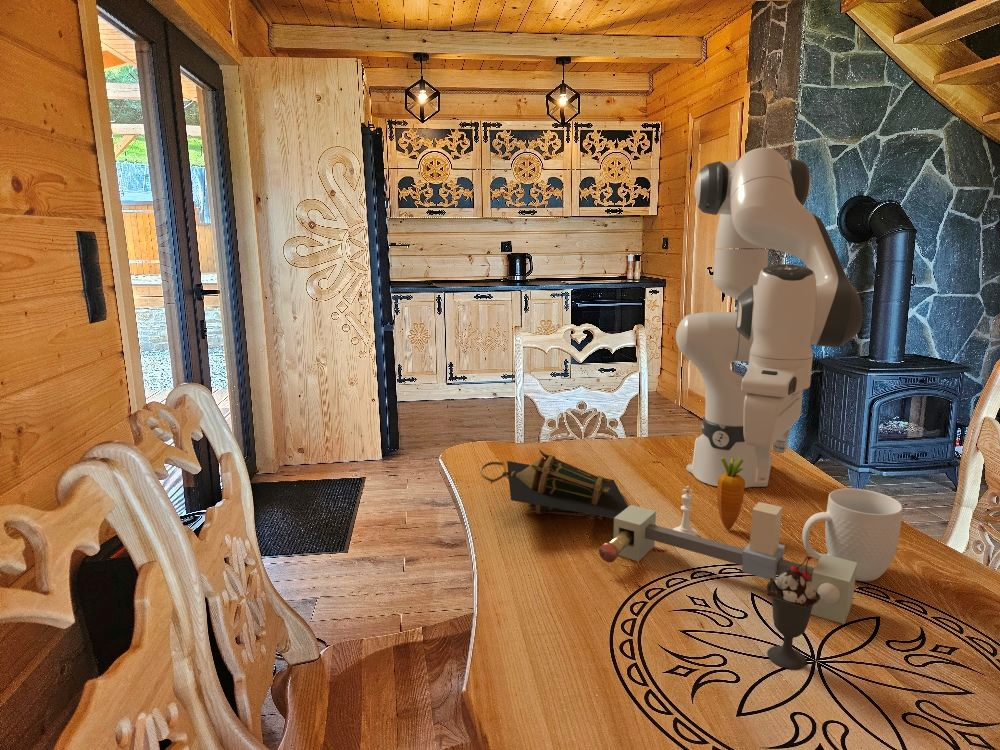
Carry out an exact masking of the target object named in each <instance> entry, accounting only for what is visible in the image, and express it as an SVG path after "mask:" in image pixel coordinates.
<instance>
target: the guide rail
mask: <svg viewBox="0 0 1000 750" xmlns="http://www.w3.org/2000/svg"><path fill="white" fill-rule="evenodd" d="M656 517H657V511H656V510H653V509H649V508H644V507H641V506H638V505H633V504H630V505H629V506H628V507H627V508H626V509H625V510H624V511H622V512H621V513H620V514H618V515H617V516H616V517H615V518H613V537H612V539H614V538H615V537H616V536H617V535H618V534H620V533H621V532H622V531H623V530H624V529H627V530H631V531H634V540H633V541H632V542H631V543H630V544H629V545H627V546H626V547H625V548H624V549H623V550H622V551H621V552H620V553H618V556H619V557H623V558H625V559H629V560H633V561H636V562H640V561H641V560H642V559H643V558H644V557H645V556H646V555H647V554H648V553H649V552H650V551H651V550H652V549H653V548H655V542H658V543H661V544H665V545H669V546H672V547H676V548H679V549H681V550H682V549H683V550H686V551H689V552H693V553H698V554H699V555H705V556H708V557H709V558H710V557H711V558H713V559H717V560H718V559H719V560H722V561H725V562H728V563H733V564H736V565H740V566H742V565H743V558H742V554H743V550H744V549H745V548H742V547H738V546H735V545H731V544H727V543H723V542H720V541H716V540H712V539H708V538H704V537H701V536H699V535H698V536H694V535H690V534H687V533H683V532H679V531H675V530H673V529H671V528H667V527H664V526H660V525H657V524H656V519H657V518H656ZM821 554H822V555H821V557H820V559H818V561H817V563H816V565H815V567H814V566H810V565H807V572H808V573H809V574H810V576H811V577H810V579H809V581H811V583H812V584H813V585H814V587H815V591H816V592H817V593H818V594H819V595H820V599H819V601H818V602H817V603H816V604H814V605H813V607H812V610H811V614H810V616H811V615H812V616H815V617H818V618H821V619H825V620H828V621H831V622H834V621H835V623H837V622H839V623H838V624H841V623H842V624H841V625H844V624H846V622H847V619H848V617H849V613H850V611H851V608H852V605H853V601H854V600H853V599H854V593H855V584H856V580H855V578H856V569H857V562H853V561H849V560H845V559H841V558H837V557H834V556H830V555H826V554H827V553H821ZM801 564H802V563H798V562H794V561H791V560H787V559H784V558H783V559H780V560H779V561H778V563H777V571H776V576H777V577H778V576H779V575H780V574H782V573H783V572H784V571H787V570H790V569H791V567H793V566H796V567H798V566H799V565H801ZM799 569H800V573H802V572H806V570H805V569H806V564H802V565H801V566H800V567H799ZM847 616H848V617H847Z"/></svg>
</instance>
